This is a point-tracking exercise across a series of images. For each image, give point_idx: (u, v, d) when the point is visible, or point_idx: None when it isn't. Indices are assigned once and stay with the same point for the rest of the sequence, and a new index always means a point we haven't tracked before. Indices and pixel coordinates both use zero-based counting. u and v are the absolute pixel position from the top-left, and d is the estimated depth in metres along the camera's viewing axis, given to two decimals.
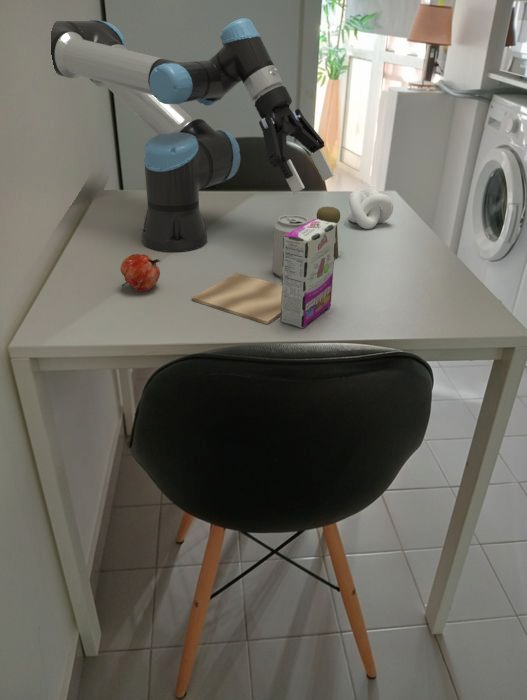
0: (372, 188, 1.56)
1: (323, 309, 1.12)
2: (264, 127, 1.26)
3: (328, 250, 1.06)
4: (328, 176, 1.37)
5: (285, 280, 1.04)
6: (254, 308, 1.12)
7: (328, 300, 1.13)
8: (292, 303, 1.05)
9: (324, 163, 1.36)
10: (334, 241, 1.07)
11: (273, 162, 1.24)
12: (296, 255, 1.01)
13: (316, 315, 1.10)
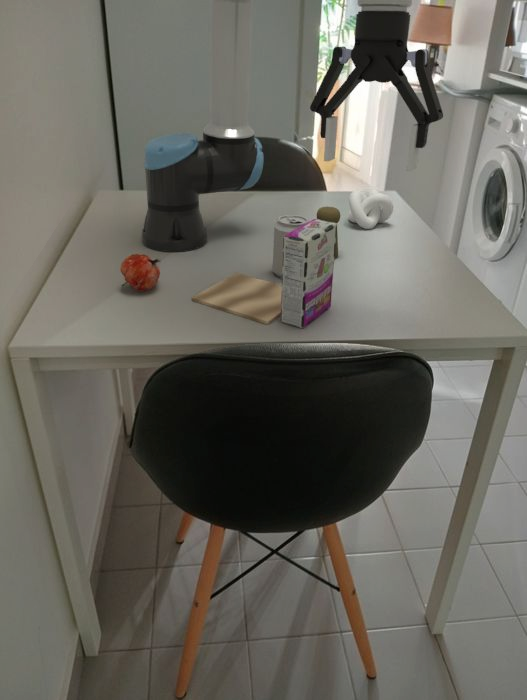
0: (372, 188, 1.56)
1: (323, 309, 1.12)
2: None
3: (328, 250, 1.06)
4: None
5: (285, 280, 1.04)
6: (254, 308, 1.12)
7: (328, 300, 1.13)
8: (292, 303, 1.05)
9: None
10: (334, 241, 1.07)
11: None
12: (296, 255, 1.01)
13: (316, 315, 1.10)
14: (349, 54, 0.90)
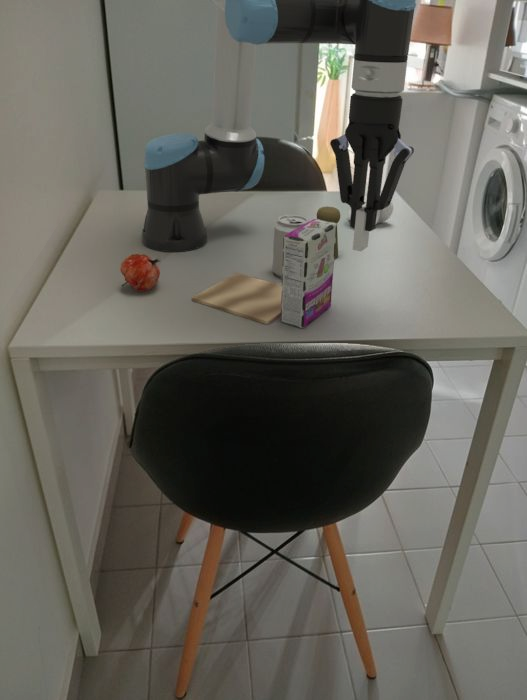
0: None
1: (323, 309, 1.12)
2: None
3: (328, 250, 1.06)
4: None
5: (285, 280, 1.04)
6: (254, 308, 1.12)
7: (328, 300, 1.13)
8: (292, 303, 1.05)
9: None
10: (334, 241, 1.07)
11: None
12: (296, 255, 1.01)
13: (316, 315, 1.10)
14: (345, 138, 0.93)
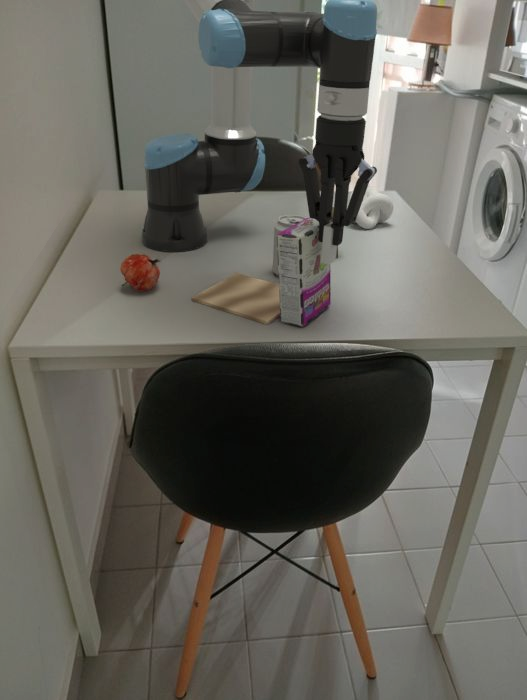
0: (372, 188, 1.56)
1: (323, 307, 1.11)
2: None
3: None
4: None
5: (282, 279, 1.04)
6: (254, 308, 1.12)
7: (327, 298, 1.12)
8: (290, 301, 1.05)
9: None
10: None
11: None
12: (290, 253, 1.01)
13: (316, 313, 1.09)
14: (312, 157, 0.97)
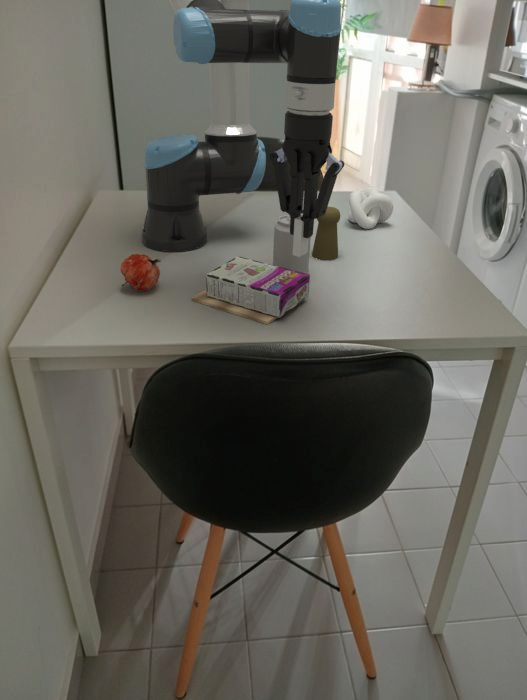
0: (372, 188, 1.56)
1: (298, 279, 1.12)
2: None
3: (247, 264, 1.17)
4: None
5: (240, 303, 1.11)
6: None
7: (298, 274, 1.14)
8: (258, 301, 1.09)
9: None
10: (250, 260, 1.19)
11: None
12: (218, 287, 1.13)
13: (291, 284, 1.10)
14: (282, 151, 1.00)
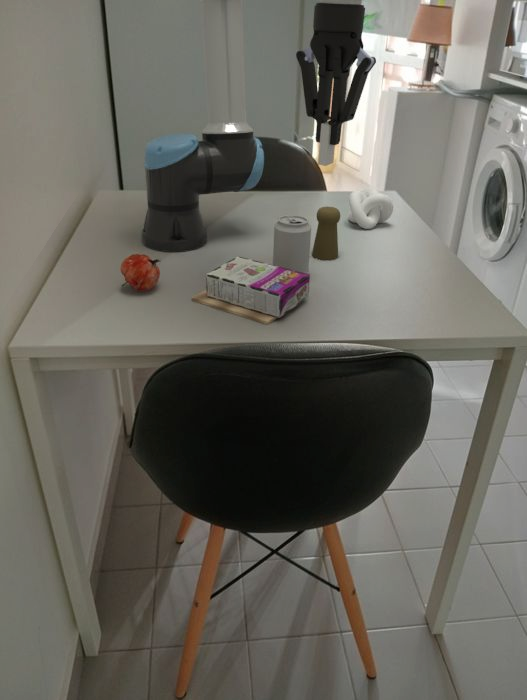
0: (372, 188, 1.56)
1: (298, 279, 1.12)
2: None
3: (247, 264, 1.17)
4: None
5: (240, 303, 1.11)
6: None
7: (298, 274, 1.14)
8: (258, 301, 1.09)
9: None
10: (250, 260, 1.19)
11: None
12: (218, 287, 1.13)
13: (291, 284, 1.10)
14: (310, 50, 0.95)
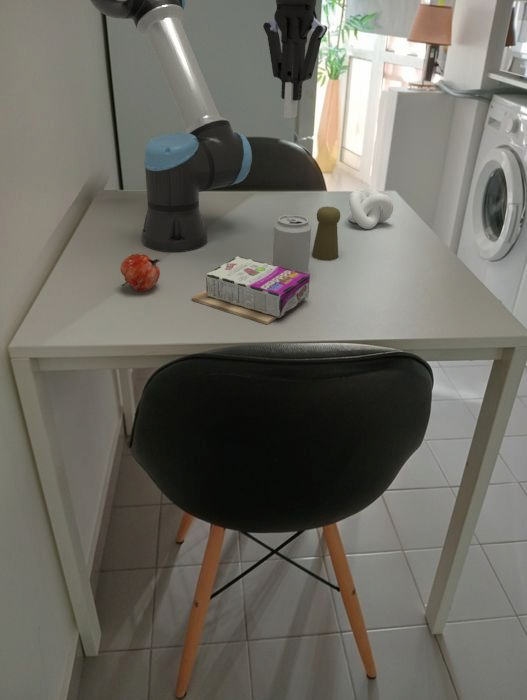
0: (372, 188, 1.56)
1: (298, 279, 1.12)
2: None
3: (247, 264, 1.17)
4: None
5: (240, 303, 1.11)
6: None
7: (298, 274, 1.14)
8: (258, 301, 1.09)
9: None
10: (250, 260, 1.19)
11: None
12: (218, 287, 1.13)
13: (291, 284, 1.10)
14: (275, 21, 1.16)
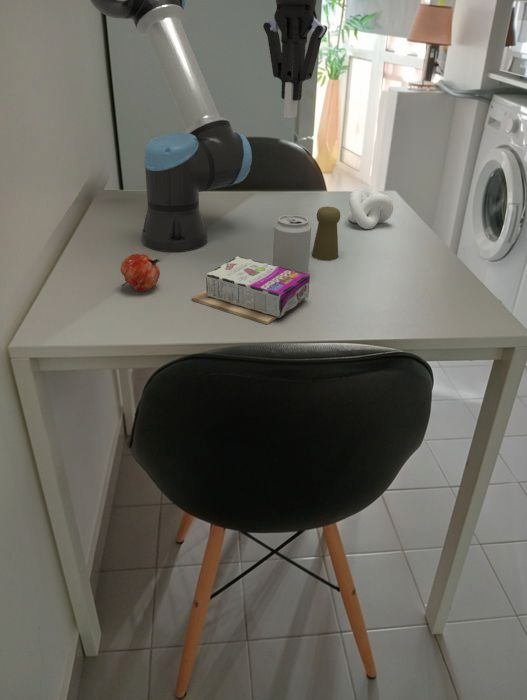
0: (372, 188, 1.56)
1: (298, 279, 1.12)
2: None
3: (247, 264, 1.17)
4: None
5: (240, 303, 1.11)
6: None
7: (298, 274, 1.14)
8: (258, 301, 1.09)
9: None
10: (250, 260, 1.19)
11: None
12: (218, 287, 1.13)
13: (291, 284, 1.10)
14: (275, 21, 1.16)
